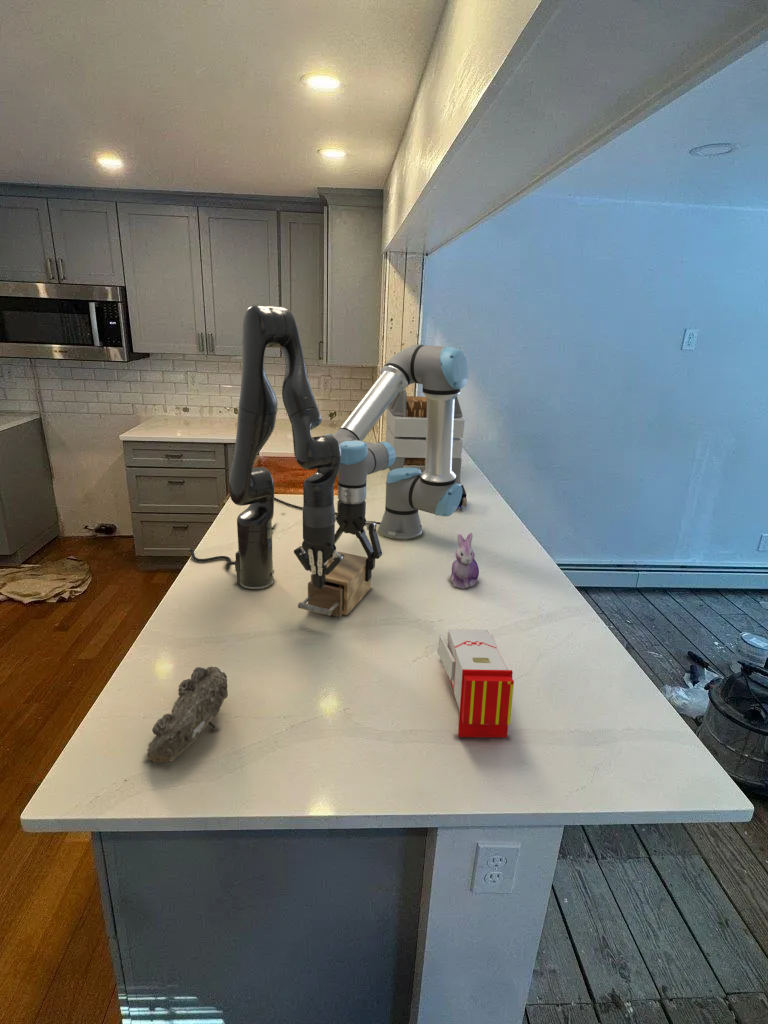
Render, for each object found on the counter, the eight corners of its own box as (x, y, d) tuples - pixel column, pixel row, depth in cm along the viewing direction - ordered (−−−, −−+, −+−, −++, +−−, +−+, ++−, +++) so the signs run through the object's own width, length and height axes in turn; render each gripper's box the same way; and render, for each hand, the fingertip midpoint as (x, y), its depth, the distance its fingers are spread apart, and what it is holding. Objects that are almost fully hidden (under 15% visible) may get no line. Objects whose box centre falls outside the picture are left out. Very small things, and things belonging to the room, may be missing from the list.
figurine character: (467, 515, 225) (461, 499, 238) (469, 498, 221) (463, 482, 235) (450, 514, 224) (445, 498, 238) (452, 497, 221) (447, 482, 234)
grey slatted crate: (382, 463, 289) (386, 382, 275) (445, 464, 293) (451, 384, 279) (390, 482, 257) (394, 392, 243) (460, 483, 261) (468, 394, 247)
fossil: (176, 667, 115) (228, 635, 110) (209, 698, 118) (262, 668, 113) (121, 756, 95) (182, 722, 90) (163, 791, 98) (223, 759, 93)
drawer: (330, 627, 138) (330, 600, 135) (296, 619, 141) (296, 592, 138) (363, 591, 156) (364, 566, 154) (333, 584, 159) (333, 560, 157)
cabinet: (346, 615, 146) (347, 582, 142) (310, 607, 149) (310, 574, 146) (370, 588, 160) (372, 558, 157) (337, 581, 163) (338, 551, 160)
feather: (284, 516, 214) (286, 512, 213) (265, 543, 187) (268, 538, 187) (280, 514, 214) (282, 510, 213) (260, 540, 187) (263, 535, 187)
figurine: (460, 592, 160) (465, 543, 155) (441, 577, 168) (445, 530, 163) (487, 586, 164) (493, 538, 159) (467, 572, 173) (472, 526, 168)
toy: (488, 613, 130) (523, 677, 101) (484, 667, 133) (517, 744, 104) (435, 612, 130) (455, 676, 101) (432, 666, 133) (451, 743, 103)
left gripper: (285, 521, 132) (287, 588, 138) (337, 530, 128) (336, 599, 133) (301, 511, 139) (302, 576, 144) (350, 520, 134) (350, 585, 140)
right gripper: (306, 497, 150) (306, 572, 158) (387, 511, 143) (383, 589, 150) (319, 489, 157) (319, 562, 164) (397, 502, 150) (393, 578, 157)
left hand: (319, 587), depth 139 cm, fingers closed
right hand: (349, 575), depth 157 cm, fingers closed on cabinet, 10 cm apart
